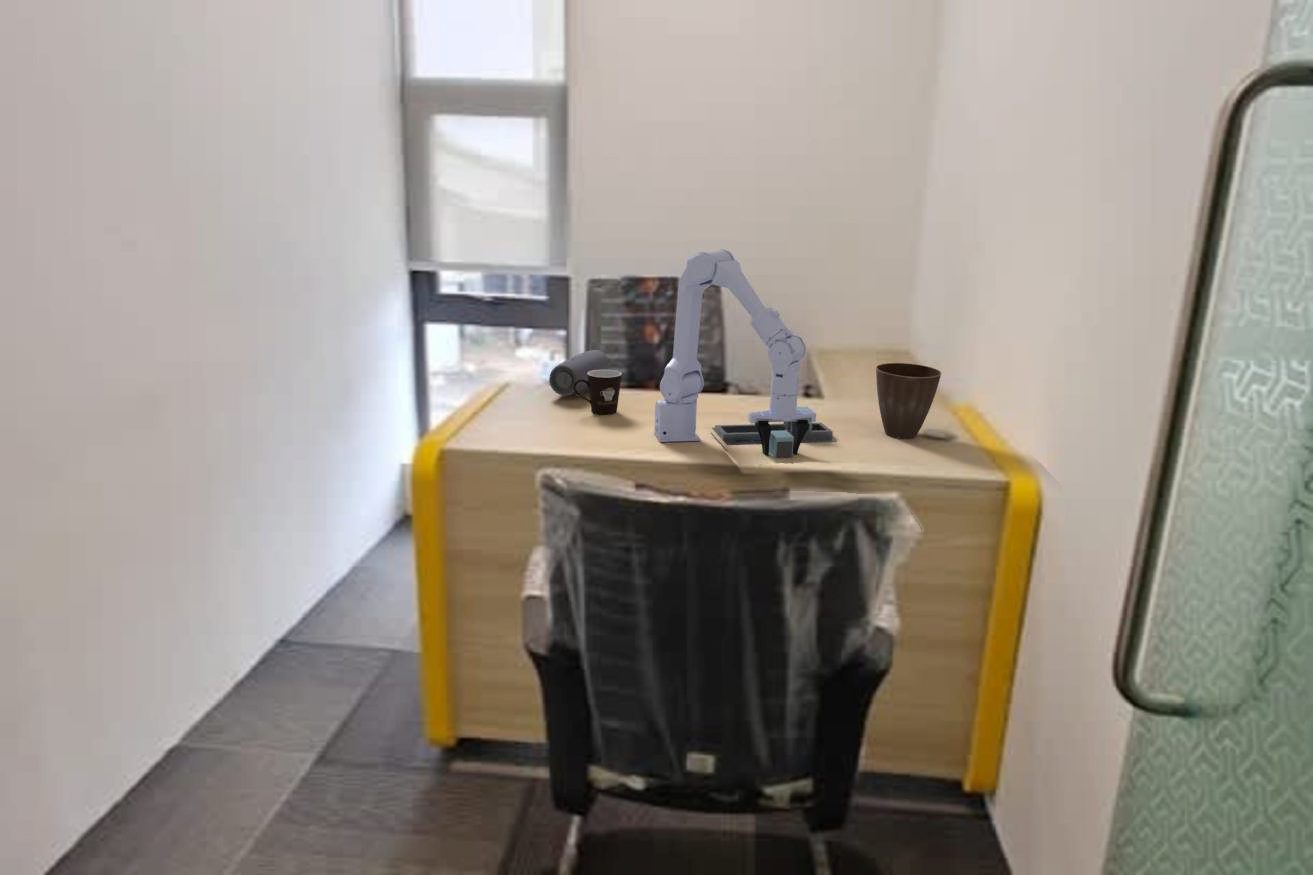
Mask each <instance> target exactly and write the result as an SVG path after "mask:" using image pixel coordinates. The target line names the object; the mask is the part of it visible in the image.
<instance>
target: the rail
mask: <svg viewBox="0 0 1313 875" xmlns="http://www.w3.org/2000/svg"><path fill="white" fill-rule="evenodd" d="M769 424H770V427H771V428H772V430H771V431H782V430H785V427H783V426H784V423H769ZM711 429H712V431H714V432H715V433H716V435H717V436H718V437H719V438H720V440H722V442H723V443H724V444H725V445H726V446H742V445H743V446H745V445H747V446H751V445H753V446H755V445H762V444H761V439H760V436H759V433H758V430H757V428H756V425H755V423H752V424H751V423H750V424H718V425H717V424H716V425H715V426H714V427H711ZM788 432H789V433H790V434H791V435H792V431H788ZM833 433H834V432H833V430H832V429H830V428H829V427H827V425H825V424H823V423H822V422H812V431H807V432H806V434H805V435H804V437H803V439H802V441H801V444H815V443H816V444H817V443H819V444H820V443H822V444H823V443H838V440H836V439H834V437H833V435H834V434H833ZM710 435H712V437H713V438H714V439H715V440H716V441H717V442H718V443H719V445H720V444H721V445H720V446H721V447H722V448H723V450H725V452H726V451H728V450H727V449H726V447H724V446H723V444H722V443H721V442H720V441H719V440H718V438H717V437H716V436H715V435H714V434H713V433H712V432H711V433H710Z"/></svg>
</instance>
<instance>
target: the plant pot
mask: <svg viewBox="0 0 1313 875" xmlns="http://www.w3.org/2000/svg"><path fill="white" fill-rule="evenodd" d="M875 373H876V376H875V377H876V390H877V391H876V392H877V402H878V406H879V413H880V418H881V422H882V426H883V430H884V433H885V435H887V436H890V437H892V438H896V437H899V438H898V439H904V438H909V439H911V438H910V437H914V438H916V437H917V436H918V434H919V433H920V430H921V429H922V426H923V425H924V422H925V421H926V418H927V416H928V414H929V412H930V409H931V407H932V404H933V402H934V399H935V396H936V393H937V390H938V386H939V383H940V380H941V376H942V371H940V370H939V369H937V368H934V367H931V366H927V365H921V364H916V363H906V362H904V363H903V362H892V363H891V362H888V363H881V364H878V365H877V366H876V367H875ZM915 436H916V437H915Z"/></svg>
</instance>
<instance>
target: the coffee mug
mask: <svg viewBox="0 0 1313 875" xmlns="http://www.w3.org/2000/svg"><path fill="white" fill-rule="evenodd" d="M587 374H588V381H586V380H584V379H580V380H577V381H576V382H575V383H574V386H573V389H574V391H575V392H576V393H577V394H578V395H577V396H578V397H580V398H582V399H583V400H585V401H587V402H589V404H590V408H591V411H590V412H591V413H592V414H594V415H597V416H613V415H615V414H617V413H618V405H619V404H618V403H619V399H620V398H619V397H620V389H621V383H622V375H623V374H622V372H621V371H619V370H614V369H609V370H593V371H589V372H588V373H587ZM579 382H585V383H586V384H587V386H588V387H589V390H588V392H589V398H587V397H586V396H584V395H582V394H579V393H578V392H577V391H576V384H577V383H579Z"/></svg>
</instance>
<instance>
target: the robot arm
mask: <svg viewBox="0 0 1313 875" xmlns="http://www.w3.org/2000/svg"><path fill="white" fill-rule="evenodd" d="M712 285H713V286H718V287H721V288H726V289H728V291H730V292H731V293H732V295H733V296H734V297H735V298H736V300H737V301H739V303H740V304H741V306H742V307H743V308H744V309H745V311H747V313H748V314H749V316H750V325H751V327H752V328H753V330H754V331H755V333H756V334H757V335H758V337H759V338H760V339H761V341H762V342H763V343H764V345H765V346H766V347H767V348H768V350H767V356H768V359H769V361H770V363H771V380H770V382H771V383H770V398H769V410H763V411H762V410H760V411H755V412H753V411H752V412H748V423H750V424H755V425H756V428H757V430H758V433H759V436H760V439H761V444H760V445H761V449H762V450H761V451H762V454H763V455H764V456H769V453H770V452H769V441H770V435H771V430H772V428H771V427H770V424H771V423H781V422H782V423H784V422H792V436H793V437H794V441H793V455H798V452H799V450H800V446H801V444H802V443H801V441H802V439H803V437H804V435H805V434H806V432H807V431H808V430H809V427H810V424H809V423H808V421H810V422H812V423H817V422H816V421H817V412H815V411H814V410H812V411H799V410H796V408H797V407H798V405H797V404H798V393H799V382H800V381H799V380H800V366H801V360H802V359H803V358H804V357H805V355H806V344H805V342H804V340H803V338H802V337H800V336H799V335H797V334H794V333H793V331H792V330H791V329H789V328H788V327H787V326H786V324H785V323H784V322H783V321H782V319H781V318H780V315H781V313H780V312H779V311H778V310H775V309H774V308H773V307H769V306H765V305H764V303H763V302H762V301H761V299H760V297H759V295H757V293H756V291H755V290H754V288H753V287H752V285H751V284H750V282H749V281H748V279H747V278H746V276H745V275H744V273H743V271H742V267H741V264H740V262H739V261H738V260H737V259H736V258H735V257H734V254H733V253H732V252H730V251H729V250H727V249H718V250H711V251H710V250H709V251H700V252H698V251H697V252H696V253H695V254H693V255H692V256H690V257H689V258H687V259H686V267H685V269H684V271H683V272H682V274H681V276H680V278H679V280H678V288H677V289H678V291H677V300H676V301H677V302H676V310H675V311H676V312H675V325H674V337H673V338H674V339H673V349H672V351H673V352H672V358H671V360H670V361H669V362H668V363H667V365H666V366H665V368H664V373H663V376H662V378H661V381H660V383H659V391H660V393H661V395H662V397H663V398H664V399H660V400H656V401H655V407H654V408H655V409H654V430H653V433H654V434H655V436H656V438H657V439H658V441H659V442H660V443H664V442H665V443H666V442H667V443H668V442H671V443H672V442H694V441H697V442H699V441H701V437H699V435H698V434H697V433H696V431H697V410H698V409H697V408H698V399H699V394H700V393H701V392H702V390H703V389H704V386H705V385H704V383H705V382H704V377H703V374H702V368H703V367H702V365H701V363H700V362H699V360H698V351H699V350H698V348H699V339H700V338H699V337H700V327H701V326H700V325H701V314H702V313H701V312H702V304H703V294H704V291H705V290H707V288H709V287H710V286H712Z"/></svg>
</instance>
